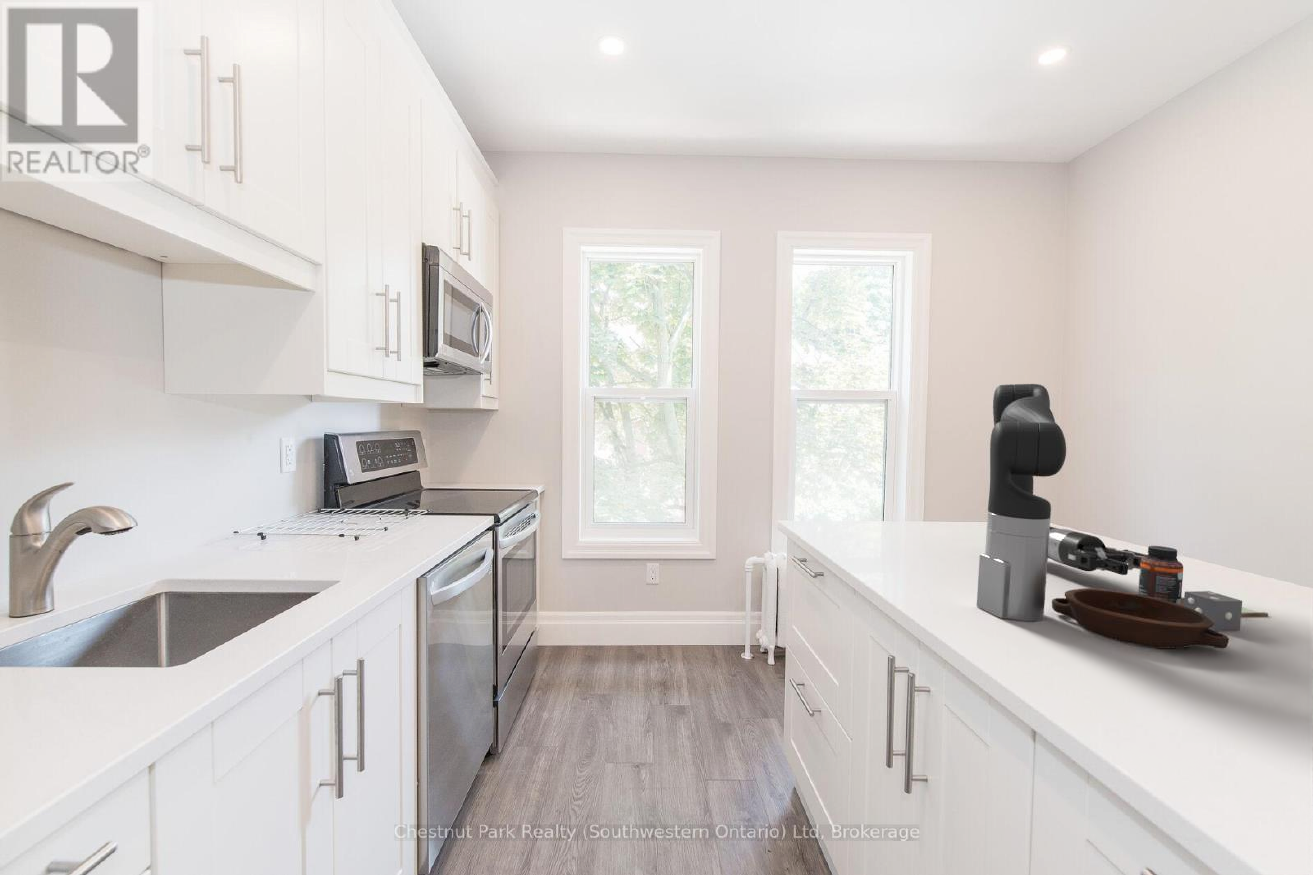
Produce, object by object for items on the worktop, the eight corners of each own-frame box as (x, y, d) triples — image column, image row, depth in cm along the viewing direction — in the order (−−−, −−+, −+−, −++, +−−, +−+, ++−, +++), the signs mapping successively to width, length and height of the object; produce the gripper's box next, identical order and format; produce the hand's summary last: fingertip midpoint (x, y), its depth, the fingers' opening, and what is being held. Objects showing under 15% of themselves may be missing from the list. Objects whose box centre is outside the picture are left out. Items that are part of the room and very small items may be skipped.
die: (1214, 631, 95) (1216, 600, 95) (1181, 620, 100) (1184, 590, 100) (1240, 630, 96) (1243, 600, 95) (1207, 619, 101) (1209, 590, 101)
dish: (1227, 675, 79) (1230, 639, 79) (1038, 628, 95) (1040, 598, 94) (1227, 641, 91) (1230, 610, 91) (1060, 605, 107) (1062, 578, 107)
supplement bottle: (1189, 615, 103) (1194, 552, 102) (1155, 614, 103) (1160, 551, 102) (1161, 604, 109) (1165, 544, 108) (1128, 603, 109) (1133, 543, 108)
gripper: (1043, 531, 123) (1114, 549, 107) (1102, 531, 125) (1180, 549, 109) (1041, 566, 123) (1111, 589, 107) (1100, 565, 125) (1177, 589, 109)
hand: (1146, 569), depth 108 cm, fingers open, 8 cm apart
